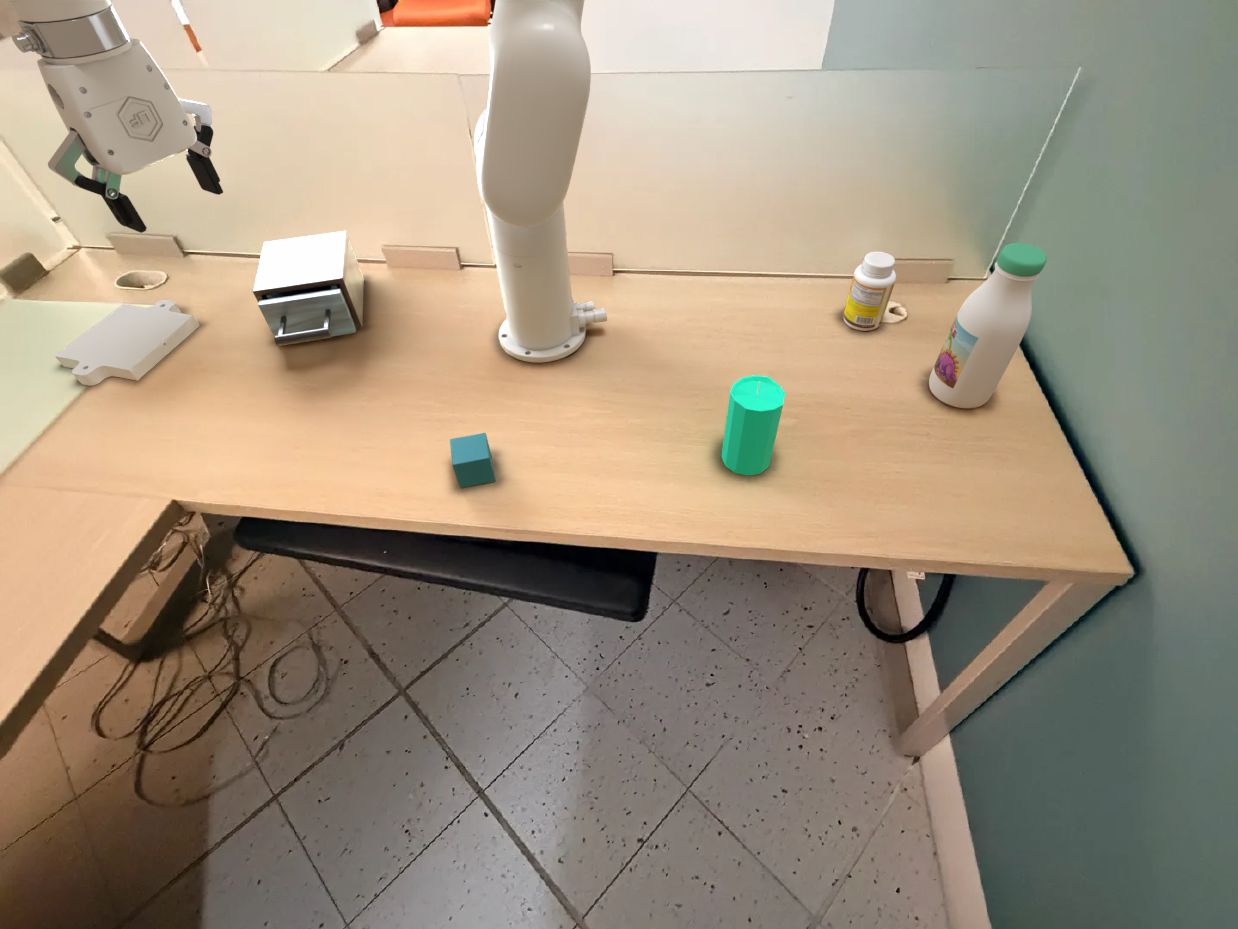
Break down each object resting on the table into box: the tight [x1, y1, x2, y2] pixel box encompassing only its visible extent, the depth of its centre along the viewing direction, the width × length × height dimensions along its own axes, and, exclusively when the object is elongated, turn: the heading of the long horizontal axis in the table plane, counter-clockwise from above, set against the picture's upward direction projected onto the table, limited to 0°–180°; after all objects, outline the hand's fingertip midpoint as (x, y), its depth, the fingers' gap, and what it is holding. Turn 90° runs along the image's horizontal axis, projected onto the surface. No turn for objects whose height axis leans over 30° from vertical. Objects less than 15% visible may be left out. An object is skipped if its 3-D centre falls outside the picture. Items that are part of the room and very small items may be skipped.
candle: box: [720, 374, 786, 477], centre depth 74 cm, size 6×6×12 cm
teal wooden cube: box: [449, 432, 496, 489], centre depth 77 cm, size 4×4×4 cm
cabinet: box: [252, 230, 365, 330], centre depth 98 cm, size 14×12×9 cm
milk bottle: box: [928, 242, 1048, 409], centre depth 78 cm, size 8×8×20 cm
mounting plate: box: [54, 299, 201, 387], centre depth 96 cm, size 18×13×2 cm
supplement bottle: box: [842, 251, 897, 332], centre depth 92 cm, size 6×6×10 cm
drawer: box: [257, 284, 357, 347], centre depth 94 cm, size 18×11×7 cm, turn 14°
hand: (176, 209), depth 74 cm, fingers open, 9 cm apart
